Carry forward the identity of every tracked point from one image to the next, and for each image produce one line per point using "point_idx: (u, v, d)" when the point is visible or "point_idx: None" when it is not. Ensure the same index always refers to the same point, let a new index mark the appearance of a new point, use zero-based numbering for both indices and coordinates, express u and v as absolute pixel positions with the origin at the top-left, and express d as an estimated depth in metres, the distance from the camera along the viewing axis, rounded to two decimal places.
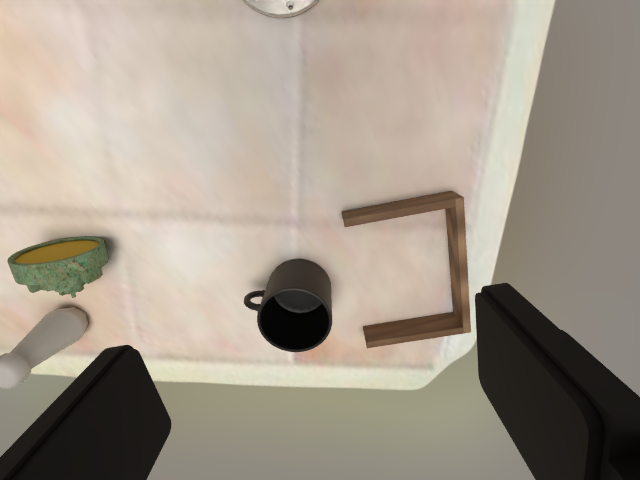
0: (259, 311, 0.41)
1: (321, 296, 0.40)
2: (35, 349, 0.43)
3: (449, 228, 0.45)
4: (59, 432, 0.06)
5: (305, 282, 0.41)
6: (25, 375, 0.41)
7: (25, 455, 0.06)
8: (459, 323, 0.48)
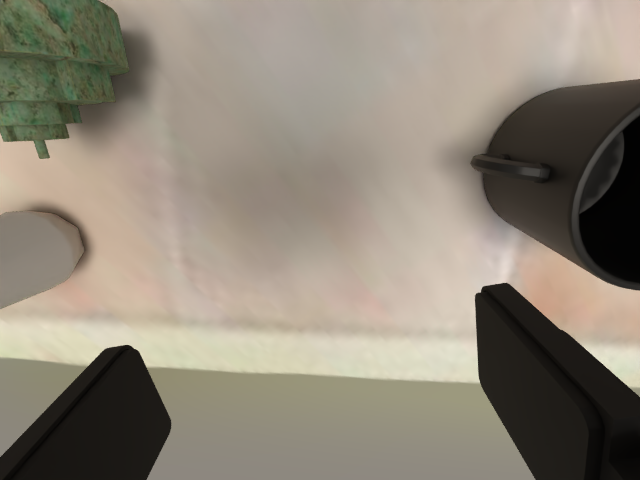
0: (593, 160, 0.13)
1: None
2: None
3: None
4: (59, 432, 0.06)
5: None
6: None
7: (24, 454, 0.06)
8: None
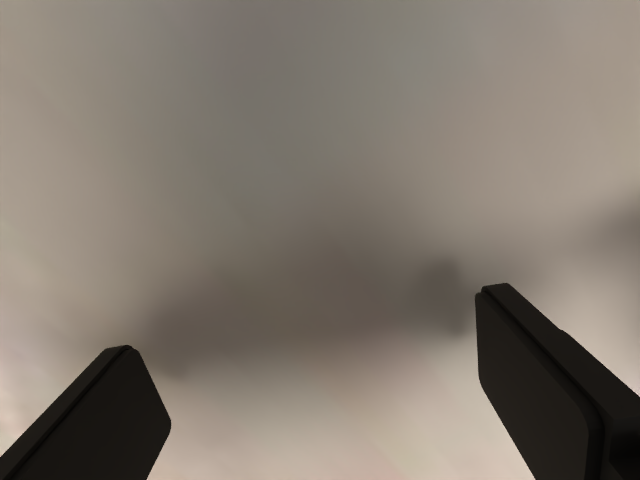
0: None
1: None
2: None
3: None
4: (59, 432, 0.06)
5: None
6: None
7: (25, 455, 0.06)
8: None
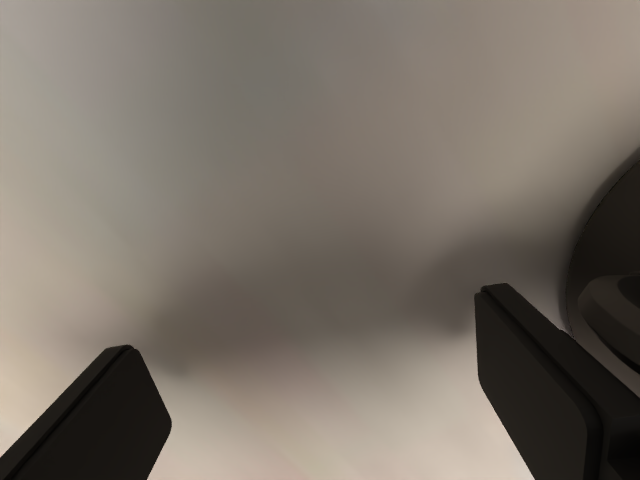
0: None
1: None
2: None
3: None
4: (60, 431, 0.06)
5: None
6: None
7: (26, 454, 0.06)
8: None
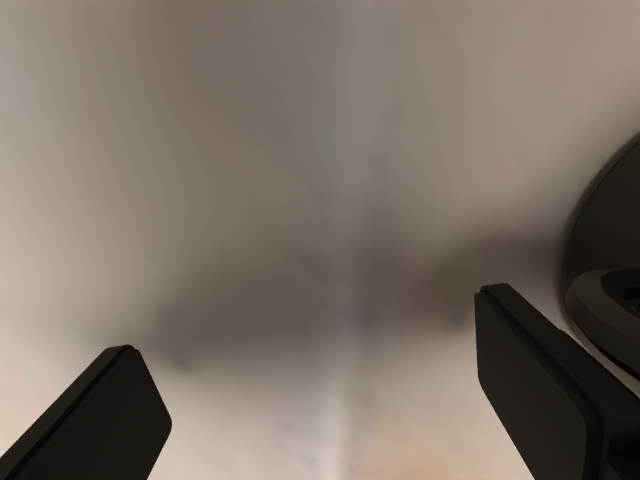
0: None
1: None
2: None
3: None
4: (60, 431, 0.06)
5: None
6: None
7: (26, 453, 0.06)
8: None
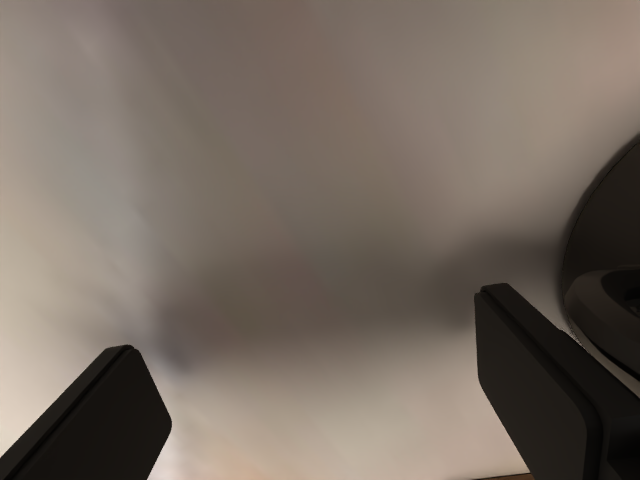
0: None
1: None
2: None
3: None
4: (60, 431, 0.06)
5: None
6: None
7: (27, 454, 0.06)
8: None
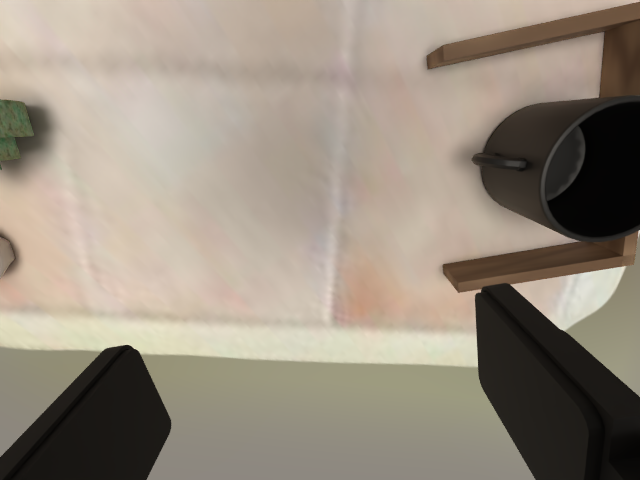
0: (551, 153, 0.21)
1: None
2: None
3: (610, 83, 0.27)
4: (59, 432, 0.06)
5: None
6: None
7: (24, 454, 0.06)
8: (611, 251, 0.29)
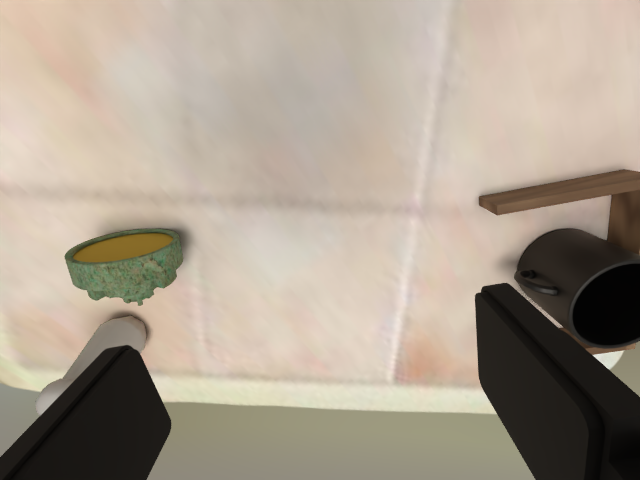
0: (577, 294, 0.30)
1: None
2: None
3: (617, 218, 0.35)
4: (59, 432, 0.06)
5: (633, 253, 0.30)
6: None
7: (25, 454, 0.06)
8: None
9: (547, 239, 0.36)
